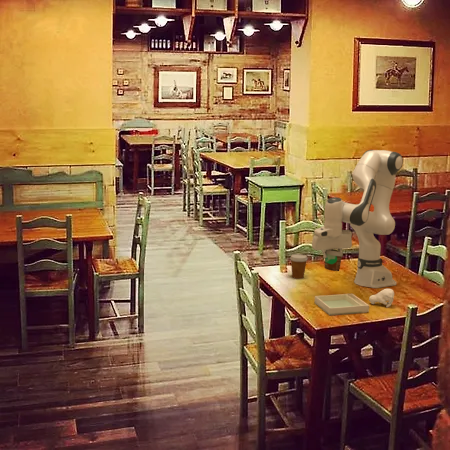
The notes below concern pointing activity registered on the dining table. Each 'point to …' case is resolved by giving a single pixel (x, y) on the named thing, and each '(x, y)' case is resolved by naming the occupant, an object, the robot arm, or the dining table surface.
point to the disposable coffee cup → (298, 265)
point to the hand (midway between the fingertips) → (331, 257)
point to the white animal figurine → (383, 297)
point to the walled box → (341, 304)
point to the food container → (333, 260)
